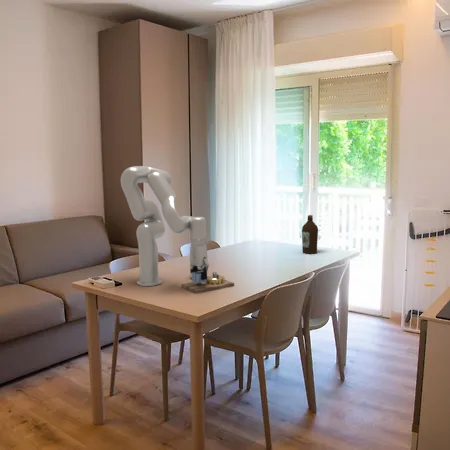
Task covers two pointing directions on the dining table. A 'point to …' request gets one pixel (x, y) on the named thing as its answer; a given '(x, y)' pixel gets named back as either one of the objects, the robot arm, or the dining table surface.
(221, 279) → the brass drive gear
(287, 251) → the dining table surface
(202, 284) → the gear board
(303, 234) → the olive oil
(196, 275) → the blue gear
